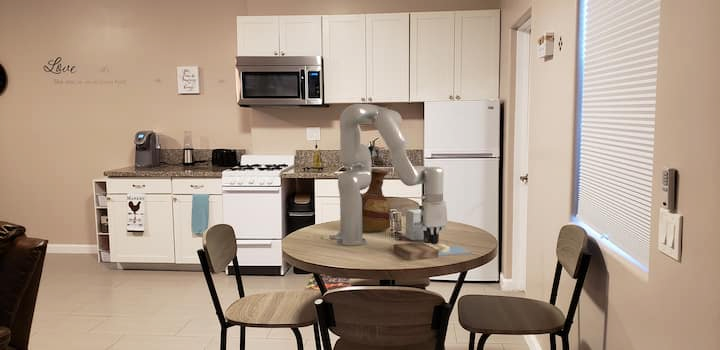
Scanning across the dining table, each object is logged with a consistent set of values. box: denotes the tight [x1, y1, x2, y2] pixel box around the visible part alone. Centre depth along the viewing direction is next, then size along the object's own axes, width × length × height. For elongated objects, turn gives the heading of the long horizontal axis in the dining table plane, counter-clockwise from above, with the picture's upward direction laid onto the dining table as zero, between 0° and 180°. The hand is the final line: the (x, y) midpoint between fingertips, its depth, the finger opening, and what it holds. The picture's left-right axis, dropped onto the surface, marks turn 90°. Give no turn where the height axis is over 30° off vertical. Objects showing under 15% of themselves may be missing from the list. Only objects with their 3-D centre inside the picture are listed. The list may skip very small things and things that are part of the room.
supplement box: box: [405, 208, 423, 241], centre depth 246 cm, size 7×7×13 cm
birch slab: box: [427, 243, 450, 253], centre depth 222 cm, size 8×6×2 cm
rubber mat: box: [438, 245, 472, 257], centre depth 223 cm, size 16×12×1 cm
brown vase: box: [360, 167, 392, 233], centre depth 263 cm, size 20×20×30 cm
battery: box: [422, 230, 440, 244], centre depth 238 cm, size 7×4×11 cm, turn 87°
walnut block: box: [393, 241, 439, 262], centre depth 217 cm, size 12×15×3 cm
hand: (433, 243), depth 220 cm, fingers closed
